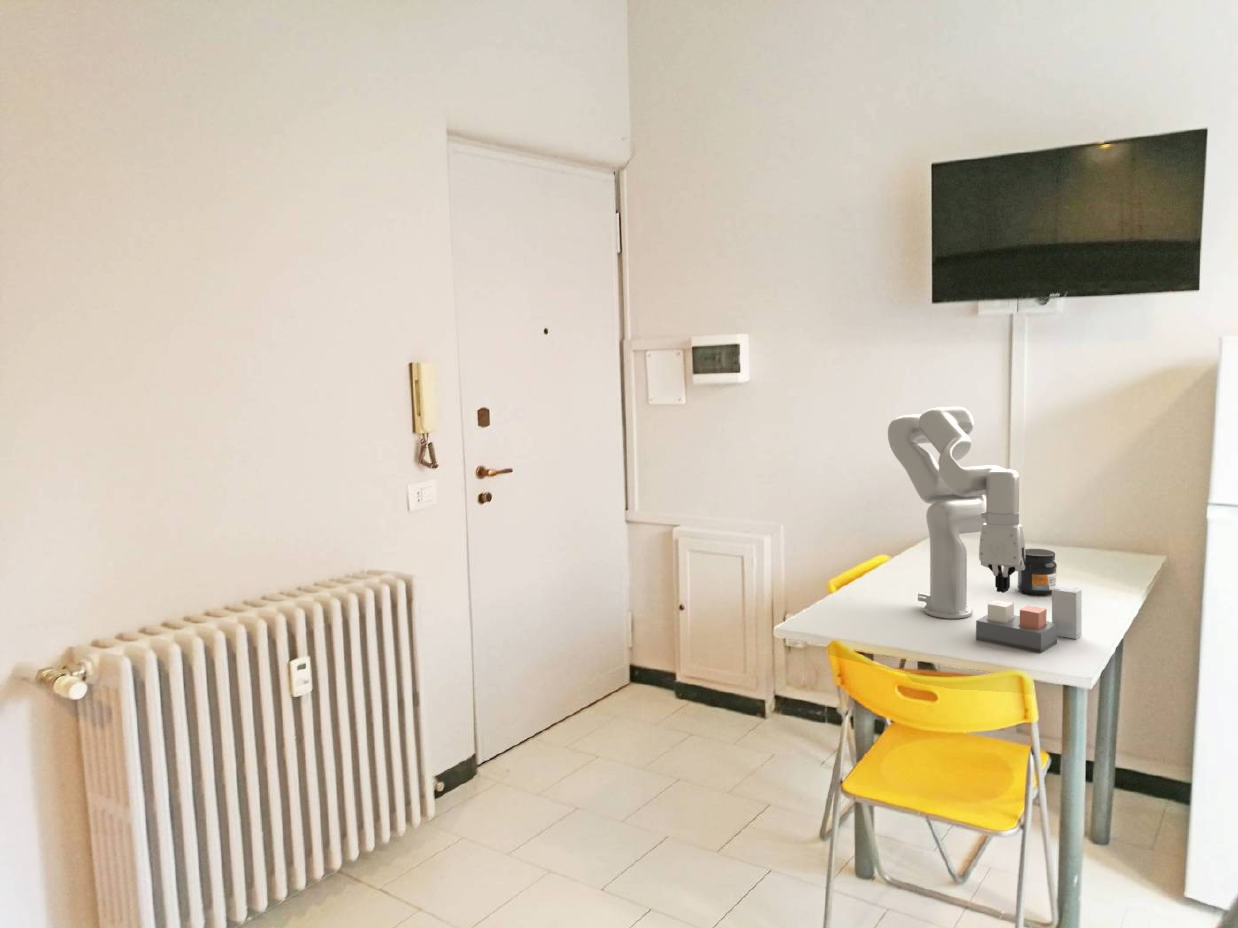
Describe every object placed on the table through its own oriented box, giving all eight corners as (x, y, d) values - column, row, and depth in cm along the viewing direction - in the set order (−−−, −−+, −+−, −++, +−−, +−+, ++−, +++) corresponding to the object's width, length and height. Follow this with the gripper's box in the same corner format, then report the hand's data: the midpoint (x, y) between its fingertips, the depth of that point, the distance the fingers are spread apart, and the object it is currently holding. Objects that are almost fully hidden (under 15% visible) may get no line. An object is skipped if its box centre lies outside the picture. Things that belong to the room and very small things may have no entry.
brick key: (1019, 627, 226) (1019, 609, 225) (1027, 622, 229) (1027, 605, 228) (1038, 631, 222) (1038, 613, 222) (1046, 626, 226) (1046, 608, 225)
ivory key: (987, 621, 231) (987, 603, 231) (995, 616, 235) (995, 599, 234) (1005, 624, 228) (1006, 607, 228) (1013, 620, 231) (1013, 603, 231)
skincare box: (1082, 635, 231) (1083, 588, 230) (1076, 640, 228) (1077, 592, 227) (1056, 631, 236) (1057, 585, 234) (1050, 635, 232) (1051, 589, 231)
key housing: (976, 639, 231) (976, 620, 231) (993, 630, 238) (993, 611, 238) (1040, 653, 220) (1041, 633, 219) (1057, 642, 227) (1057, 623, 226)
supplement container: (1060, 596, 265) (1061, 556, 263) (1021, 596, 267) (1022, 556, 266) (1051, 587, 275) (1051, 548, 274) (1013, 586, 277) (1014, 547, 276)
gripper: (966, 518, 231) (966, 589, 233) (1026, 524, 220) (1026, 598, 222) (980, 514, 236) (980, 584, 238) (1039, 519, 225) (1039, 592, 227)
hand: (1002, 591), depth 230 cm, fingers closed
